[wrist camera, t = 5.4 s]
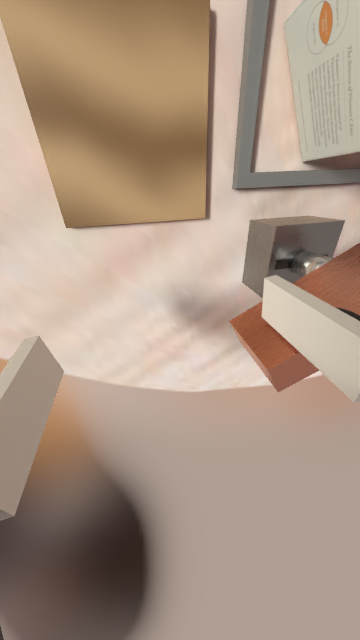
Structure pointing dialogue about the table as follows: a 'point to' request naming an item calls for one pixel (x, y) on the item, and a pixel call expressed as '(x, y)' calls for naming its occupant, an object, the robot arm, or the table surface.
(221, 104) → the table surface
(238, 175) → the seat rim
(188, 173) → the cork pad
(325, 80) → the small box
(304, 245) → the key housing
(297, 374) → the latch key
